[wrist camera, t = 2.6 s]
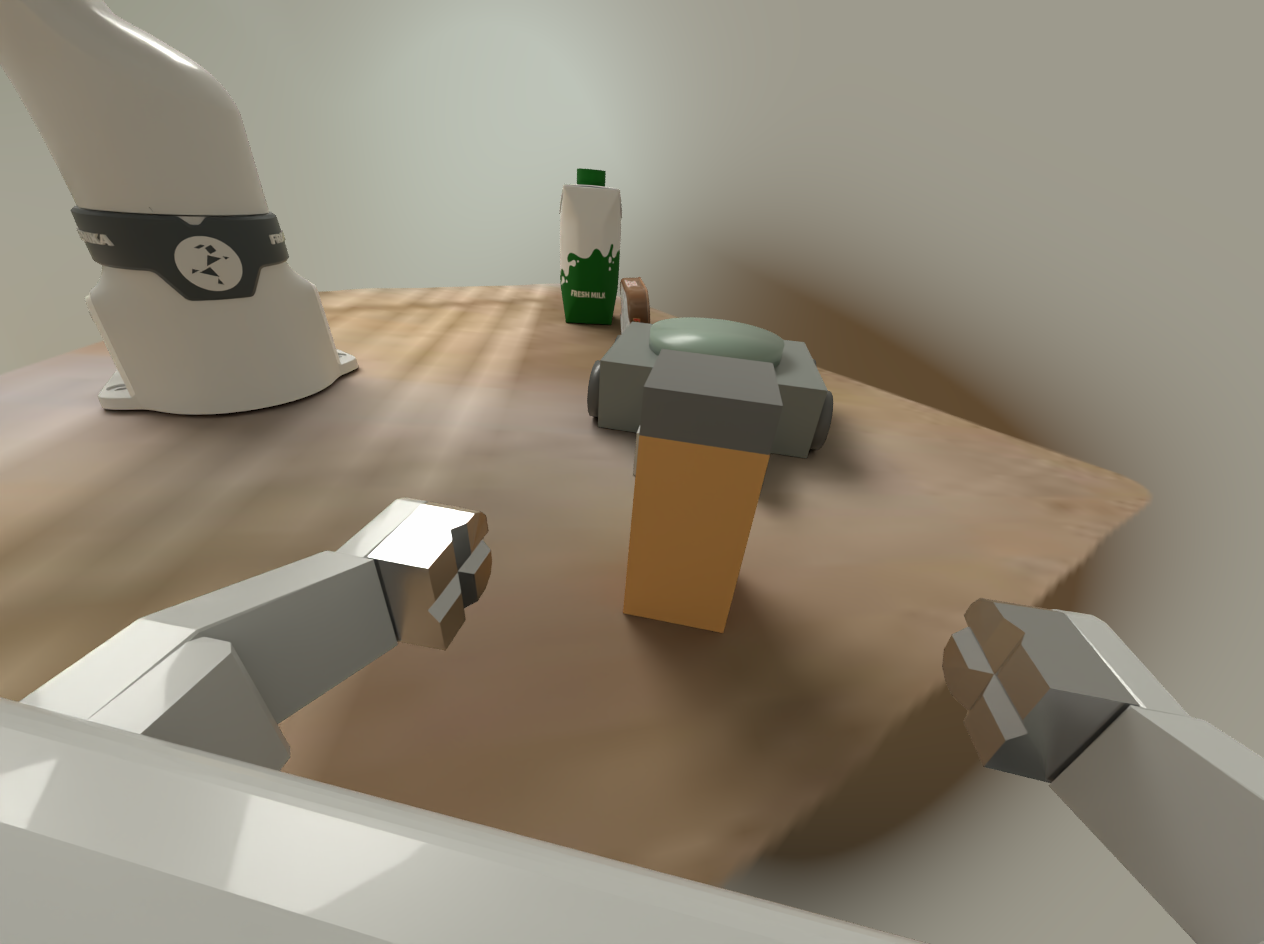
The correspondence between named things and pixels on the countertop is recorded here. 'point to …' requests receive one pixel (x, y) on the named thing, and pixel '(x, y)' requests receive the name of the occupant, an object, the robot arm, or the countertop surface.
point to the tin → (633, 302)
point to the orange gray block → (697, 484)
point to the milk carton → (589, 248)
